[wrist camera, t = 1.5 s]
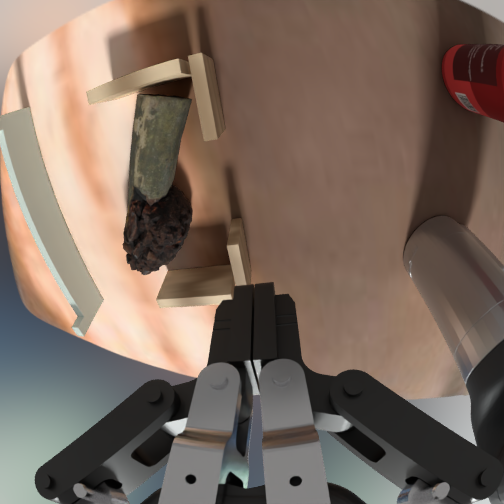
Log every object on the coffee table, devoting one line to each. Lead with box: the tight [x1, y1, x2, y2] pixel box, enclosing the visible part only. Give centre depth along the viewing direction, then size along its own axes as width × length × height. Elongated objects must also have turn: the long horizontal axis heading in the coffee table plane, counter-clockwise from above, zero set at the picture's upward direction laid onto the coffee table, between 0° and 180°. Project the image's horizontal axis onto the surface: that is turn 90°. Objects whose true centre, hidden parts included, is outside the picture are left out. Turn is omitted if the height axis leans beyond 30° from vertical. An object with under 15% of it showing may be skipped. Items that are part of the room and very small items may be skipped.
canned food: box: [442, 44, 504, 122], centre depth 13 cm, size 8×8×11 cm
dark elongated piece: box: [123, 94, 193, 275], centre depth 24 cm, size 18×7×6 cm, turn 166°
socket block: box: [86, 53, 251, 308], centre depth 24 cm, size 10×22×5 cm, turn 8°
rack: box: [0, 107, 103, 336], centre depth 25 cm, size 1×28×7 cm, turn 9°
